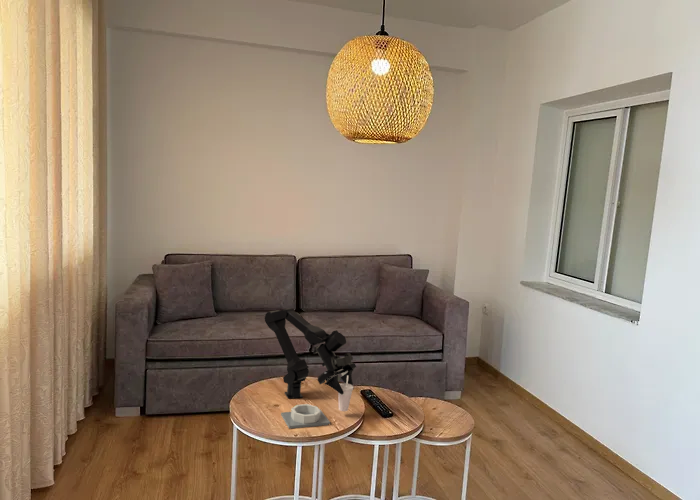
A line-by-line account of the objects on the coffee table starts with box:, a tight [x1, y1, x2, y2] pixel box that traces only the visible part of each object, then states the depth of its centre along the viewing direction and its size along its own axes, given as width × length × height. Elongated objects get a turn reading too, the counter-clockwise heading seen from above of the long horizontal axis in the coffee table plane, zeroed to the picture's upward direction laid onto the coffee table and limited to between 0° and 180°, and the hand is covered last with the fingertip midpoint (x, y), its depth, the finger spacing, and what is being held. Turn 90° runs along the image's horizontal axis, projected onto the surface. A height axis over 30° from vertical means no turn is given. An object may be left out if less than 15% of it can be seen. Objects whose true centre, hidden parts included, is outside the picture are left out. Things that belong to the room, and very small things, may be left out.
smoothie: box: [337, 375, 354, 412], centre depth 203 cm, size 6×6×14 cm
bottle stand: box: [280, 403, 331, 429], centre depth 197 cm, size 12×16×4 cm
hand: (347, 391), depth 203 cm, fingers closed on smoothie, 6 cm apart
